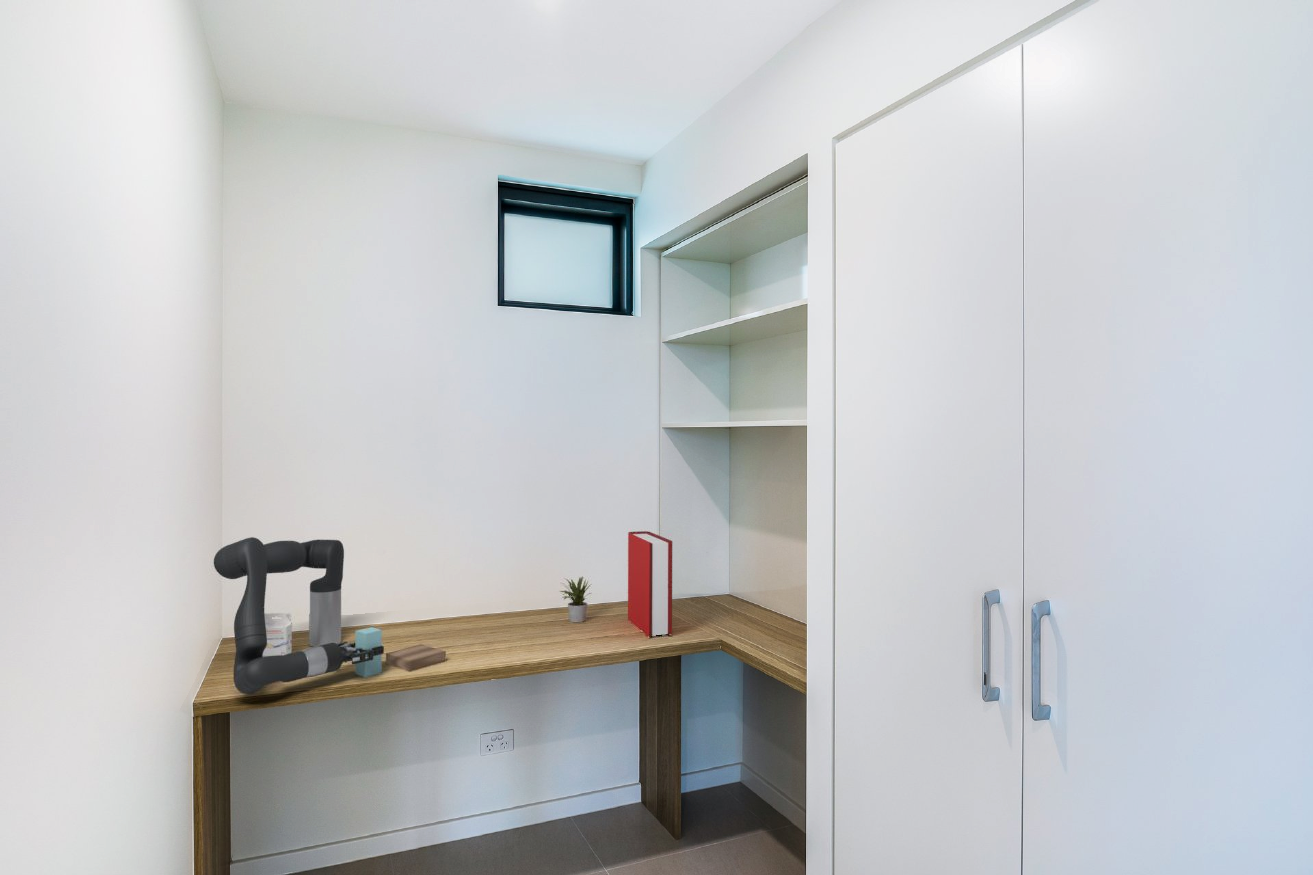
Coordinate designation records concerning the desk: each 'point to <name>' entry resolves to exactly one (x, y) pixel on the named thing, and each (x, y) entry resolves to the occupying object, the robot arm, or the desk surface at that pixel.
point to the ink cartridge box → (278, 634)
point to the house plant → (577, 601)
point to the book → (650, 582)
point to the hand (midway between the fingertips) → (374, 646)
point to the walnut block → (415, 657)
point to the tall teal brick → (367, 640)
